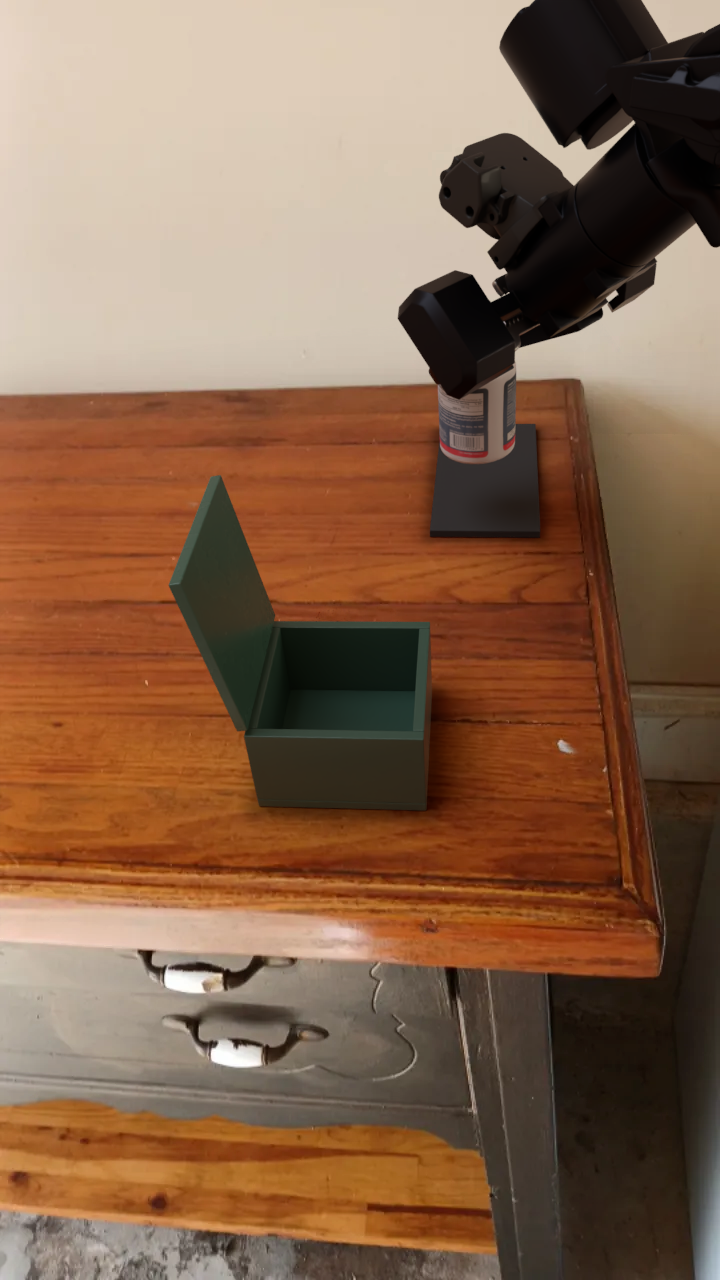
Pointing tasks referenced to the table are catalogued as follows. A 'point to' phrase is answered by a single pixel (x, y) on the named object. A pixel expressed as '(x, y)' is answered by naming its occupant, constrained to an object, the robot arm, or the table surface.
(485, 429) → the pill bottle
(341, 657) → the green square box
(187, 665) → the table surface
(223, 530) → the lid
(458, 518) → the mat
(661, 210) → the robot arm
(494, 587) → the table surface
